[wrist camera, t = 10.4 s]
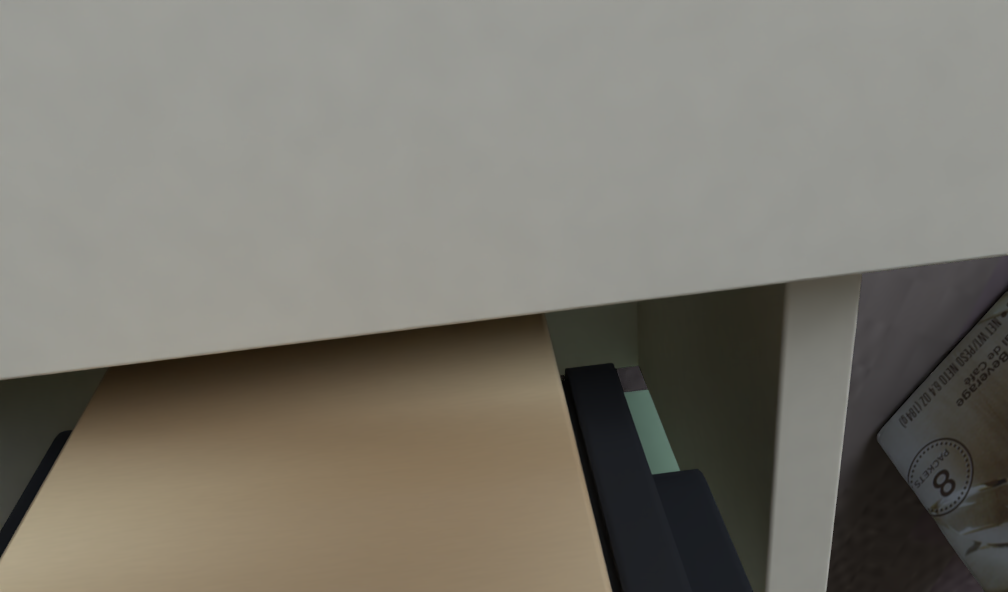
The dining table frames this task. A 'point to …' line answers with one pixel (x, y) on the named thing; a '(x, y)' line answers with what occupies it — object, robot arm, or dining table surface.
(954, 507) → the coffee box
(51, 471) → the block
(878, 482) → the dining table surface
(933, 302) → the dining table surface
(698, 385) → the drawer
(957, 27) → the cabinet
